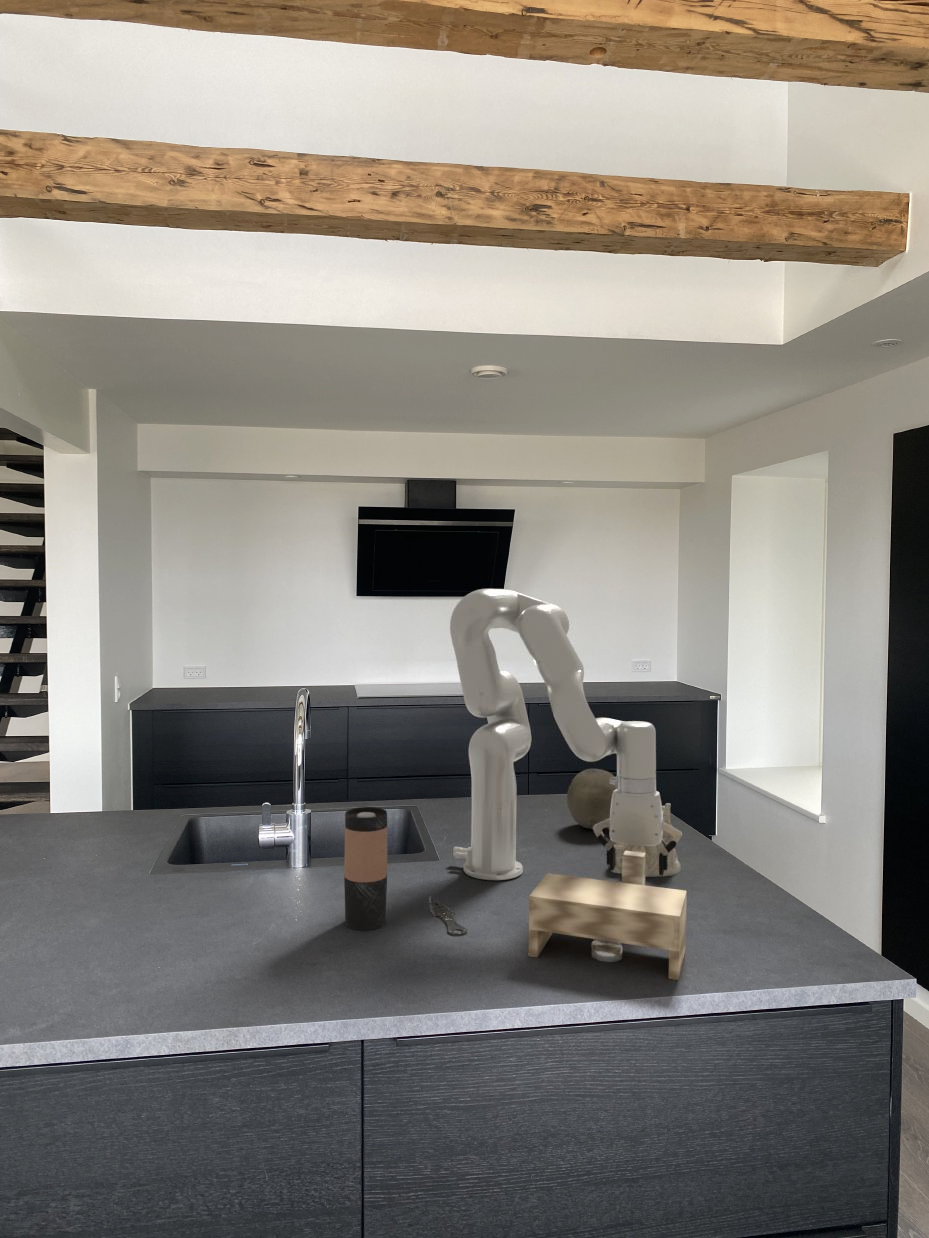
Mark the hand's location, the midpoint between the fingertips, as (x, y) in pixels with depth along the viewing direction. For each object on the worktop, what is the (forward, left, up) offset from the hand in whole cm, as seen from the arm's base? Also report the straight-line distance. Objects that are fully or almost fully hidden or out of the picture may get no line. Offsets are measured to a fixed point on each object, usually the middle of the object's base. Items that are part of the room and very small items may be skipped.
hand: (636, 870), depth 169 cm
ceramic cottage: (-1, +20, -5) cm, 20 cm away
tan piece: (-1, -10, -5) cm, 11 cm away
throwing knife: (-32, -23, -5) cm, 40 cm away
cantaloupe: (-17, +43, -5) cm, 46 cm away
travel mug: (-44, -32, -5) cm, 54 cm away
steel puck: (-1, -30, -5) cm, 30 cm away
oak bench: (-1, -29, -5) cm, 29 cm away
